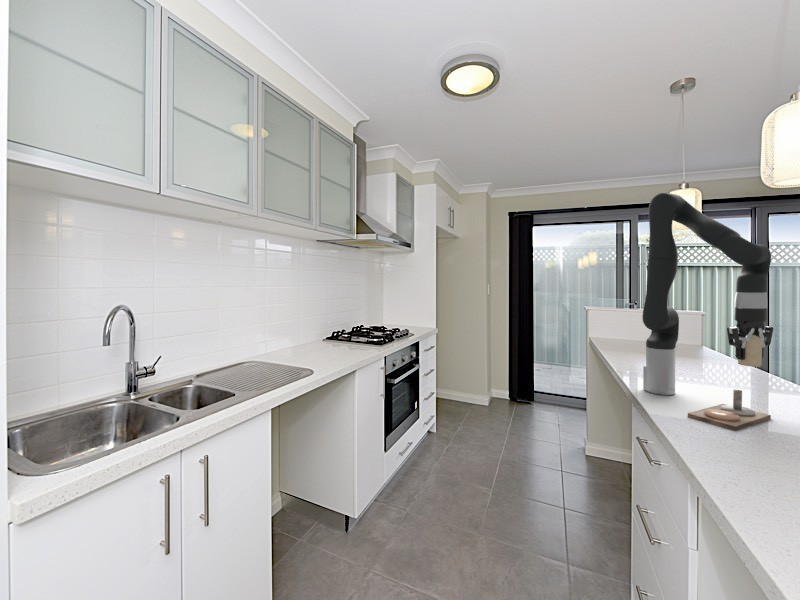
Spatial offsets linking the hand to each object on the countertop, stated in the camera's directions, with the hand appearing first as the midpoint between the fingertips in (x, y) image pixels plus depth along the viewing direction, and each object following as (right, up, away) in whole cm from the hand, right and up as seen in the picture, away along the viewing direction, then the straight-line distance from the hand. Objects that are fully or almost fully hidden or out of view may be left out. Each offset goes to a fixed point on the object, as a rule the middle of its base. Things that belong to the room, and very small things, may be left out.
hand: (749, 358), depth 117 cm
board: (-11, -18, -4) cm, 21 cm away
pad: (-14, -17, -6) cm, 23 cm away
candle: (0, -2, 0) cm, 2 cm away
